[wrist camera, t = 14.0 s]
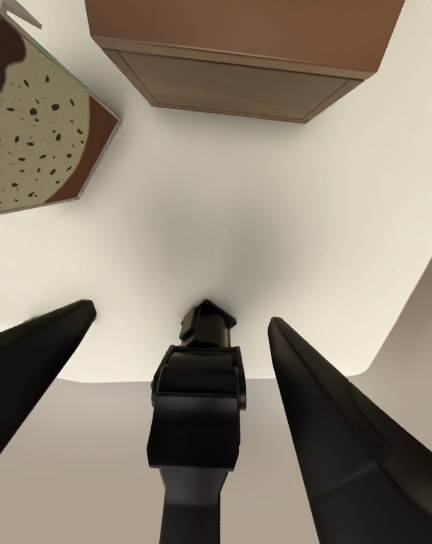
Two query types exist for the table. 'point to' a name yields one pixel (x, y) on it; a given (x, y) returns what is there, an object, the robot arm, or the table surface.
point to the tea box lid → (253, 31)
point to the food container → (44, 122)
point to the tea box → (230, 86)
